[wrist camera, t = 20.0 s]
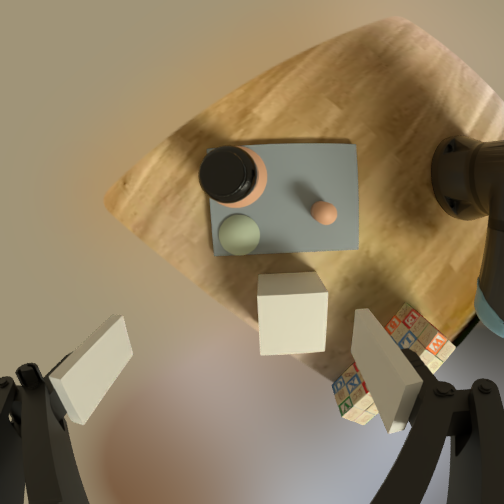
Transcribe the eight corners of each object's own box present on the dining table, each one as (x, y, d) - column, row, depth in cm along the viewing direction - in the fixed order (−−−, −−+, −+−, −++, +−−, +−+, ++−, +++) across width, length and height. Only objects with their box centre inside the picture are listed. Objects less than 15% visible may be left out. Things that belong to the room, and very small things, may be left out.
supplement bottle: (204, 163, 39) (179, 155, 27) (248, 145, 38) (241, 128, 26) (222, 207, 40) (204, 216, 28) (266, 189, 39) (266, 191, 28)
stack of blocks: (351, 395, 49) (367, 437, 37) (330, 384, 49) (343, 429, 37) (423, 316, 45) (457, 347, 33) (405, 300, 44) (439, 332, 32)
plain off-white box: (315, 271, 43) (328, 292, 35) (314, 322, 45) (324, 351, 37) (258, 274, 44) (257, 296, 35) (261, 325, 46) (260, 355, 37)
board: (353, 145, 39) (364, 140, 34) (356, 247, 42) (367, 255, 37) (204, 150, 40) (196, 145, 35) (212, 254, 43) (205, 263, 38)
